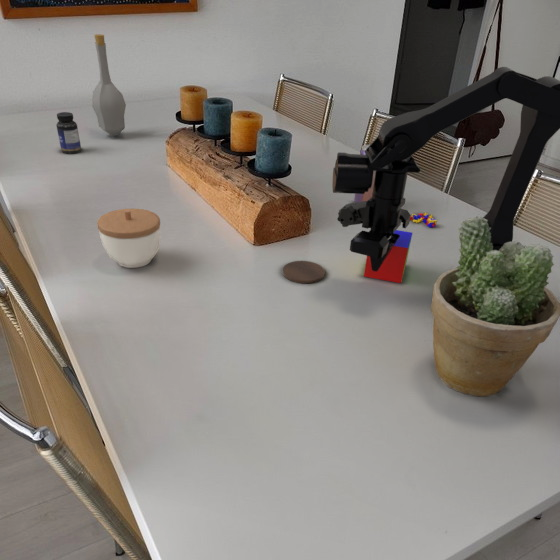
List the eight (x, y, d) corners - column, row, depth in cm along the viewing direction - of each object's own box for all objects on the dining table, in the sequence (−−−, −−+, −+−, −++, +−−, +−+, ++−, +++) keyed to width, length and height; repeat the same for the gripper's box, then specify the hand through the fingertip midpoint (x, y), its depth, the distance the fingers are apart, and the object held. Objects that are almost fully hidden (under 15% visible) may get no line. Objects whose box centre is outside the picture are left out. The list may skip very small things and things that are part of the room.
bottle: (137, 136, 189) (125, 35, 170) (113, 143, 181) (98, 38, 163) (113, 130, 194) (99, 31, 175) (89, 137, 186) (72, 34, 167)
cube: (363, 276, 116) (369, 241, 111) (370, 260, 122) (375, 226, 117) (401, 283, 115) (408, 248, 110) (405, 266, 121) (412, 232, 116)
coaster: (314, 287, 112) (314, 284, 111) (275, 276, 115) (275, 273, 114) (331, 269, 118) (331, 267, 118) (293, 259, 121) (293, 257, 121)
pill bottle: (60, 149, 174) (52, 112, 168) (79, 147, 177) (73, 110, 170) (63, 154, 170) (55, 117, 163) (83, 153, 172) (76, 115, 165)
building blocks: (426, 214, 145) (427, 207, 144) (442, 226, 139) (444, 219, 138) (405, 216, 143) (406, 210, 142) (420, 228, 137) (422, 222, 136)
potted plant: (536, 366, 94) (595, 229, 78) (514, 429, 81) (578, 281, 65) (434, 332, 101) (469, 200, 85) (398, 385, 88) (431, 242, 72)
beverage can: (350, 206, 147) (357, 148, 138) (358, 199, 151) (365, 142, 142) (371, 210, 145) (379, 152, 136) (378, 203, 149) (387, 147, 140)
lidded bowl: (173, 252, 121) (169, 204, 114) (147, 278, 112) (141, 227, 105) (122, 243, 124) (114, 196, 117) (92, 268, 114) (82, 218, 107)
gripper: (363, 171, 109) (354, 243, 119) (327, 201, 96) (320, 279, 106) (417, 182, 105) (403, 256, 115) (388, 214, 92) (374, 294, 102)
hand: (375, 270), depth 110 cm, fingers closed
